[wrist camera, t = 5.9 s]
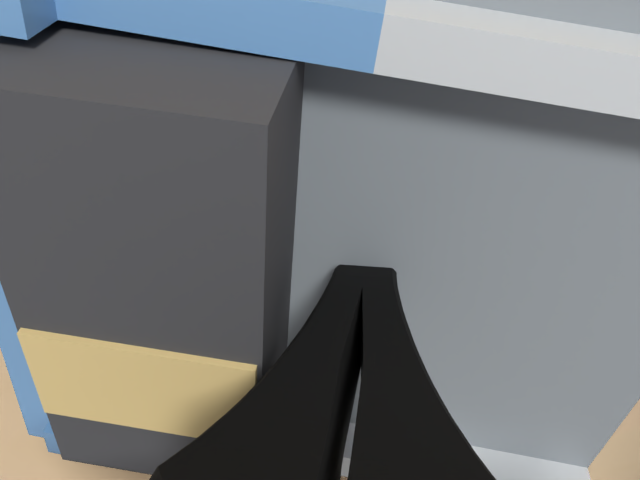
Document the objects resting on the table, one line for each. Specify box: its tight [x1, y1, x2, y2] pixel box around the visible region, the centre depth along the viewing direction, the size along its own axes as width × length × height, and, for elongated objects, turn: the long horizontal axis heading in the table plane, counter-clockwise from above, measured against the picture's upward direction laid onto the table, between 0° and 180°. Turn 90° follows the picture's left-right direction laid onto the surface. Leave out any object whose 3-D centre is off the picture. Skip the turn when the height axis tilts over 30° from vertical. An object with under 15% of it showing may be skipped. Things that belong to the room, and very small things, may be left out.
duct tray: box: [0, 0, 640, 480], centre depth 14 cm, size 17×16×3 cm
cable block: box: [0, 20, 305, 475], centre depth 13 cm, size 5×10×4 cm, turn 176°
